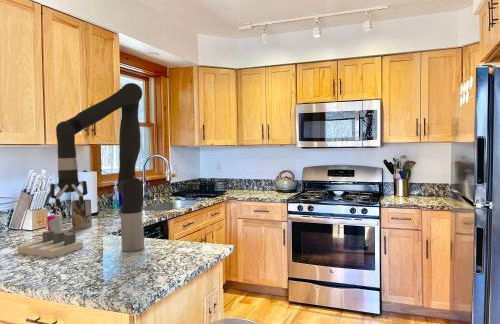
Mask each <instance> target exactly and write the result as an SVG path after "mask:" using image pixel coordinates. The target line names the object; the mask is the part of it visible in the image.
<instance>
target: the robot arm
mask: <svg viewBox="0 0 500 324" xmlns="http://www.w3.org/2000/svg"><path fill="white" fill-rule="evenodd" d="M142 97H143V89H142V87H141V86H139V85H138V84H137V83H134V82H128V83H125V84H124V85H122V87H121V88H120V89H119V90H117V91H116V92H115V93H113V94H112V95H110V96H109V97H107V98H105V99H103V100H101V101H99V102H97V103H95V104H93V105H91V106H89V107H87V108H85V109H83V110H82V111H80V112H78V113H76V115H74V116H73V117H71V118H69V119H67V120H64V121H60V122H59V123H57V125H56V127H55V136H56V141H57V142H56V143H57V178H58V182H57V183H50V184H49V197H50V198H51V199H54V201H55V206H56V207H57V209H60V208H61V200H60V199H61V196H62V195H63V194H64V193H66V194H68V193H73V192H75V193H76V194H77V195H78V200H79V205H82V204H83V200H84V196H86V195H88V193H89V191H88V185H87V181H86V180H80V181H79V173H78V171H79V170H78V168H79V165H78V160H77V159H78V158H77V149H76V138H75V137H76V135H78V134H79V133H80V132H81V131H83V130H85V129H87V128H89V127H91V126H94V125H95V124H97V123H99V122H100V121H102V120H103V119H104V118H105V119H106V117H108V116H110V114H113V113H114V112H115V111H117V110H119V109H120V110H121V111H120V112H121V119H120V126H119V135H118V136H119V139H118V140H119V141H118V143H119V146H118V147H119V167H118V169H119V170H118V175H117V176H118V177H117V185H116V186H117V191H118V193H119V194H120V195H121V196H122V204H121V206H120V209H119V210H120V231H121V232H120V233H121V236H120V237H121V251H122V252H125V253H126V252H127V253H132V252H138V251H141V250H142V249H144V248H145V235H144V234H145V229H144V226H143V214H142V213H143V206H144V186H143V182H142V181H141V180H140V179H139V178H138V177H136V165H137V161H138V157H139V155H140V152H141V151H140V150H141V142H142V141H141V140H142V139H141V127H140V120H139V109H140V108H139V105H140V101H141V99H142ZM79 186H81V187H82V191H81V190H80V189H79V188H78V187H79ZM57 187H58V188H59V190H58V191H57V193H56V194H55V190H56V189H57Z"/></svg>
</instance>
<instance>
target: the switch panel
mask: <svg viewBox="0 0 500 324" xmlns="http://www.w3.org/2000/svg"><path fill="white" fill-rule="evenodd" d="M83 244H84V242H83V241H81V240H79V241H76V242H75V243H72V244H69V245H66V246H64V241H63V242H60V243H57V244H54V243H53V240H52V241H48V242H45V243H43V238H42V239H39V240H36V241H32V242H28V243H24V244H20V245H18V246H17V253H18V254H24V255H31V256H37V257H44V258H50V259H54V258H57V257H59V256H63V255H66V254H68V253H72V252H74V251H78V250H80V249H83V248H84V247H83V246H84V245H83Z"/></svg>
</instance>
